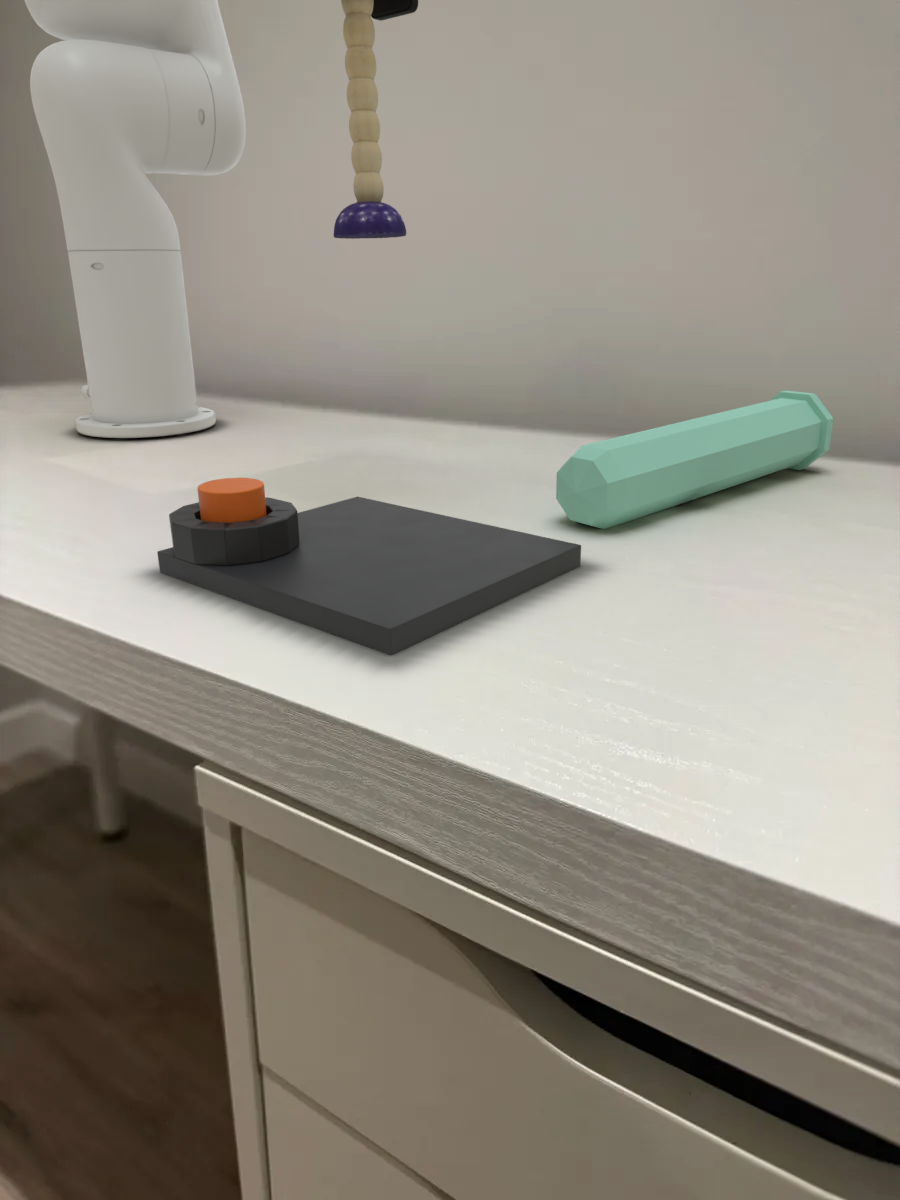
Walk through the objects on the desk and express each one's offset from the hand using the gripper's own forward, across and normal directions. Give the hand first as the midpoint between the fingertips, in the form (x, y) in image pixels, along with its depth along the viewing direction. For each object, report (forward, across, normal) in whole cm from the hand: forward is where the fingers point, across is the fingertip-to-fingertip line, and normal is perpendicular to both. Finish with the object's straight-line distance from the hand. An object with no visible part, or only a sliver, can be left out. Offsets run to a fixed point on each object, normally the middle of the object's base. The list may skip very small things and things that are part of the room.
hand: (359, 1), depth 47 cm
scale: (+28, +10, +9) cm, 31 cm away
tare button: (+25, +14, +3) cm, 29 cm away
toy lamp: (+12, 0, 0) cm, 12 cm away
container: (+28, -14, +15) cm, 35 cm away
